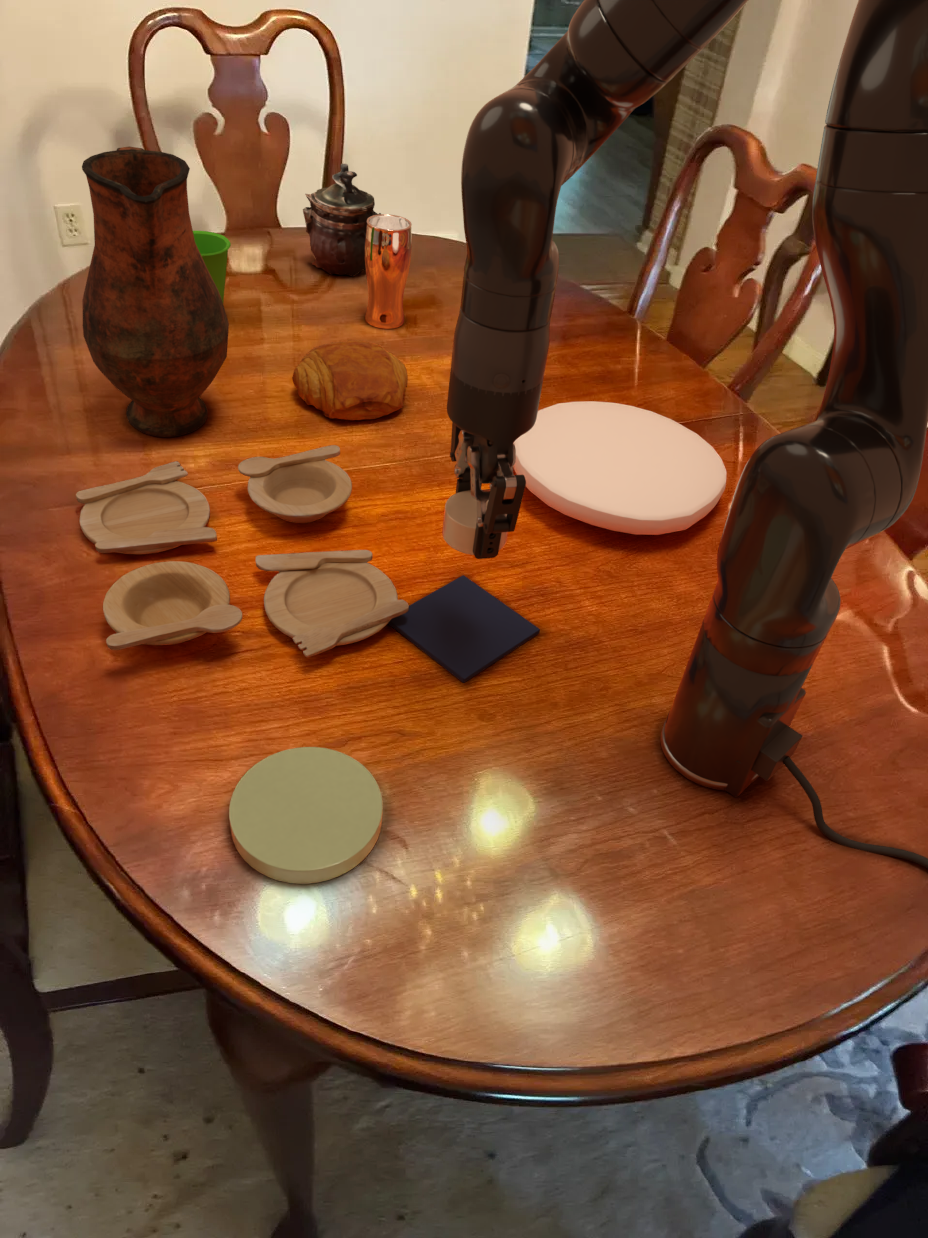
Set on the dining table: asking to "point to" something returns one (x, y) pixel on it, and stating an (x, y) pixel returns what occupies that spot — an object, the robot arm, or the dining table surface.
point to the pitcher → (151, 292)
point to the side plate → (305, 815)
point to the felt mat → (463, 628)
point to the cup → (214, 256)
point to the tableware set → (296, 597)
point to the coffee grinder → (339, 224)
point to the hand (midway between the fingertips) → (474, 533)
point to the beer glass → (387, 268)
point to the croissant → (351, 380)
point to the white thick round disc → (620, 467)
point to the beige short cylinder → (462, 522)
